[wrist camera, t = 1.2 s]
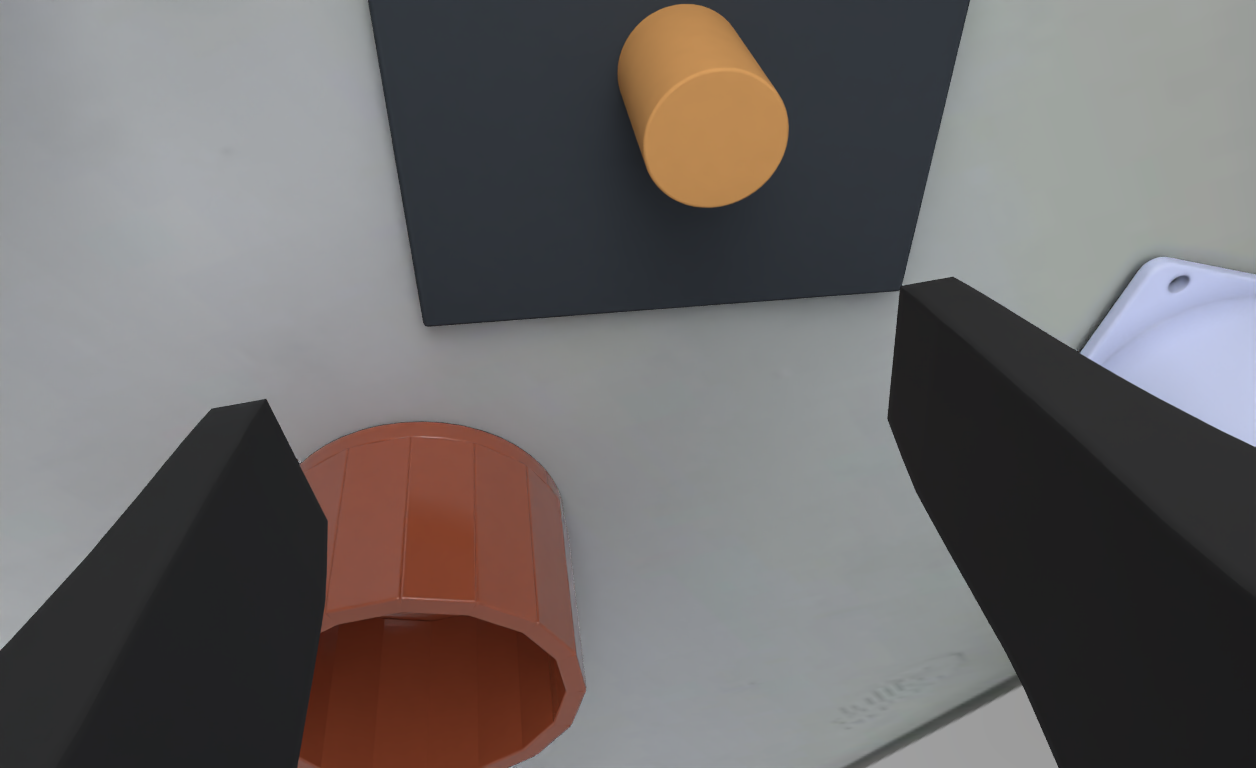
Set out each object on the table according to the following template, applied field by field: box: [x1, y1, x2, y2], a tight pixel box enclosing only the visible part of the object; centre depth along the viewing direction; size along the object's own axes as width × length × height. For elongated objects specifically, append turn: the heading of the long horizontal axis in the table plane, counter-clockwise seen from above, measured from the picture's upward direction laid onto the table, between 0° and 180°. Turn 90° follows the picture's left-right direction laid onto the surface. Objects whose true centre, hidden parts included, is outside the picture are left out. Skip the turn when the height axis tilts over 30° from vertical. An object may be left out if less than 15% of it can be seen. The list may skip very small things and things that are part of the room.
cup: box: [297, 422, 586, 768], centre depth 23 cm, size 8×8×6 cm
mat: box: [368, 0, 970, 327], centre depth 16 cm, size 11×11×4 cm
